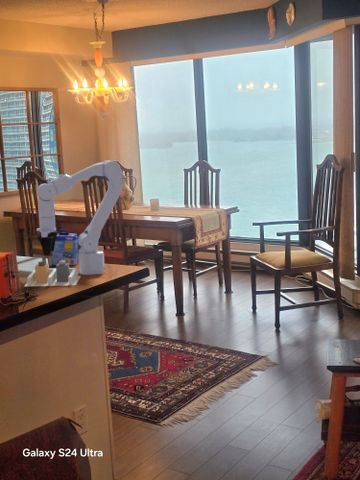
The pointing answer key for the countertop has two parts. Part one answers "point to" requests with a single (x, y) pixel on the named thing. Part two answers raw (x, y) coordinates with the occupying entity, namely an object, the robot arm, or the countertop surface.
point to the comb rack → (54, 278)
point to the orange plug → (41, 272)
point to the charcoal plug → (62, 271)
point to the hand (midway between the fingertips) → (49, 253)
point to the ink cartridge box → (66, 248)
